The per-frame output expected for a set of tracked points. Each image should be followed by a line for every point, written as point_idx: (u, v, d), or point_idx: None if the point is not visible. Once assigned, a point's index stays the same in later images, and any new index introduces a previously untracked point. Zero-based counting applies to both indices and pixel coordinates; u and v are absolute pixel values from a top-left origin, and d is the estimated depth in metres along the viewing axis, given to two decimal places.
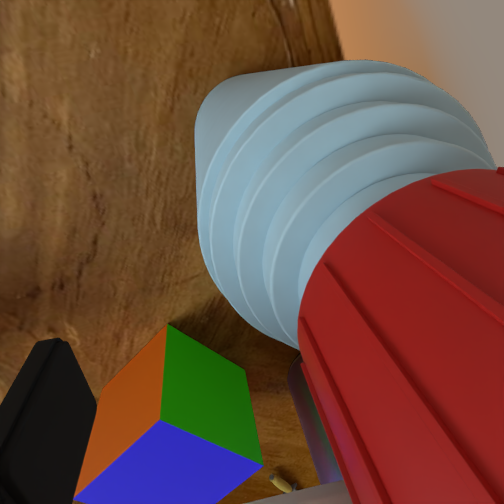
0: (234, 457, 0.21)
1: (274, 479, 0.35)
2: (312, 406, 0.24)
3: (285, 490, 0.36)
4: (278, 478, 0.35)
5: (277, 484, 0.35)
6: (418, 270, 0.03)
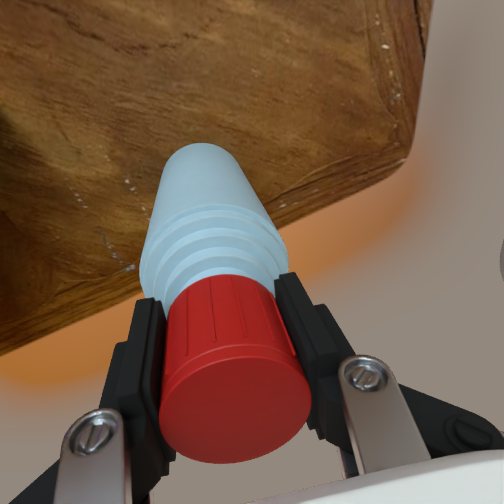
0: None
1: None
2: None
3: None
4: None
5: None
6: (275, 310, 0.10)
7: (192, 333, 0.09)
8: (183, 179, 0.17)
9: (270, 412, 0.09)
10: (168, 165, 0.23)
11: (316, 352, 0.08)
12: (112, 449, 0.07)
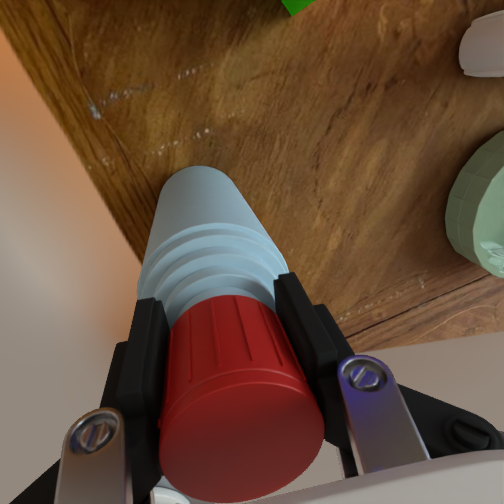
0: None
1: None
2: None
3: None
4: None
5: None
6: (282, 333, 0.10)
7: (195, 357, 0.08)
8: None
9: (279, 444, 0.08)
10: (233, 184, 0.24)
11: (315, 352, 0.08)
12: (113, 448, 0.07)
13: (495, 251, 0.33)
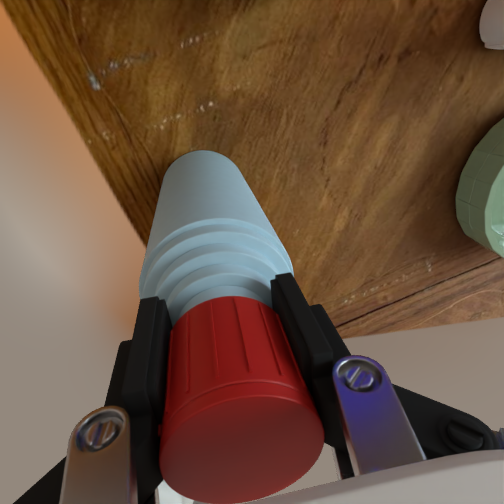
0: None
1: None
2: None
3: None
4: None
5: None
6: (282, 335, 0.10)
7: (193, 366, 0.08)
8: None
9: (279, 451, 0.08)
10: (237, 170, 0.24)
11: (311, 352, 0.08)
12: (118, 447, 0.07)
13: None
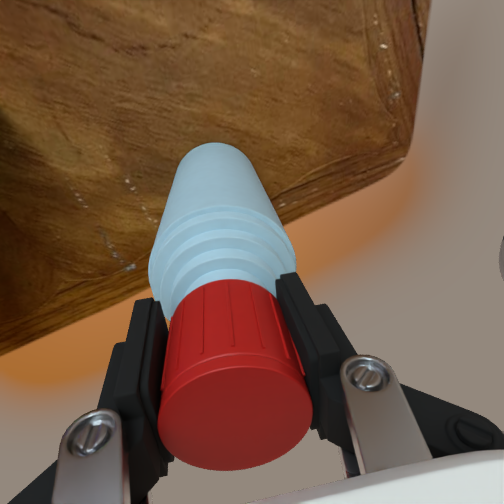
0: None
1: None
2: None
3: None
4: None
5: None
6: None
7: None
8: (193, 180, 0.18)
9: (204, 430, 0.09)
10: (181, 165, 0.24)
11: (318, 352, 0.08)
12: (111, 449, 0.07)
13: None
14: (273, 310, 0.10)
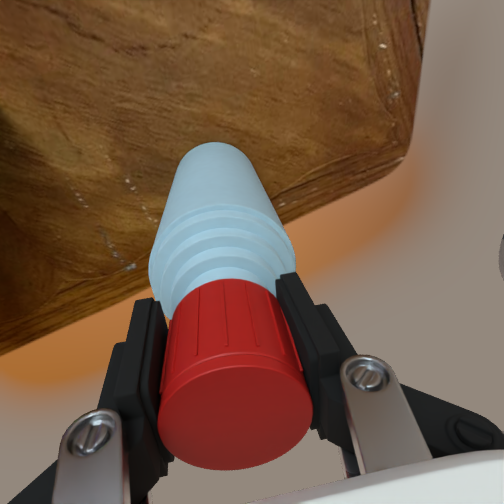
0: None
1: None
2: None
3: None
4: None
5: None
6: None
7: (284, 340, 0.09)
8: (193, 179, 0.18)
9: (243, 443, 0.09)
10: (181, 165, 0.24)
11: (318, 352, 0.08)
12: (110, 449, 0.07)
13: None
14: (178, 321, 0.10)
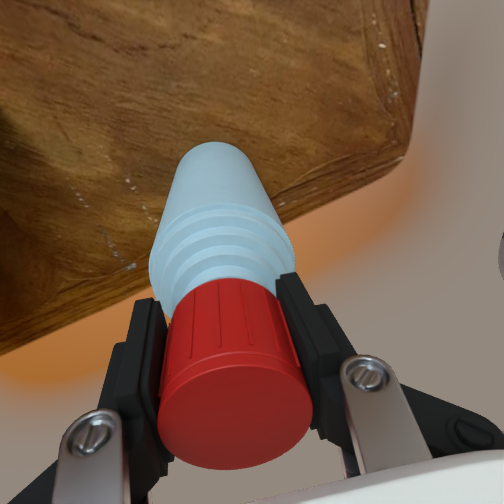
0: None
1: None
2: None
3: None
4: None
5: None
6: (264, 306, 0.10)
7: (175, 352, 0.09)
8: (192, 178, 0.18)
9: (269, 414, 0.09)
10: (180, 164, 0.24)
11: (318, 352, 0.08)
12: (111, 450, 0.07)
13: None
14: None
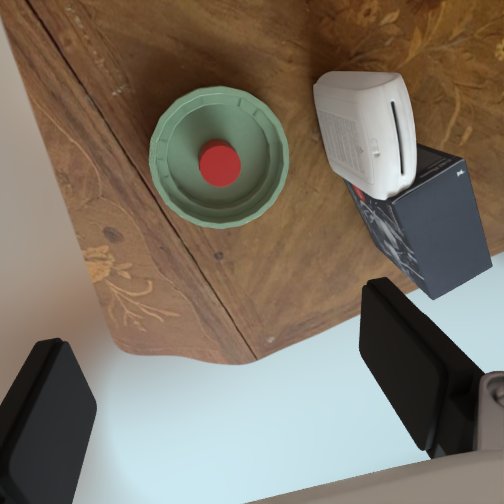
0: None
1: None
2: None
3: None
4: None
5: None
6: (227, 143, 0.34)
7: (203, 151, 0.33)
8: None
9: (229, 164, 0.32)
10: None
11: (451, 368, 0.07)
12: None
13: (167, 157, 0.34)
14: None
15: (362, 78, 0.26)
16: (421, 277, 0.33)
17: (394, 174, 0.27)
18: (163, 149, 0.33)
